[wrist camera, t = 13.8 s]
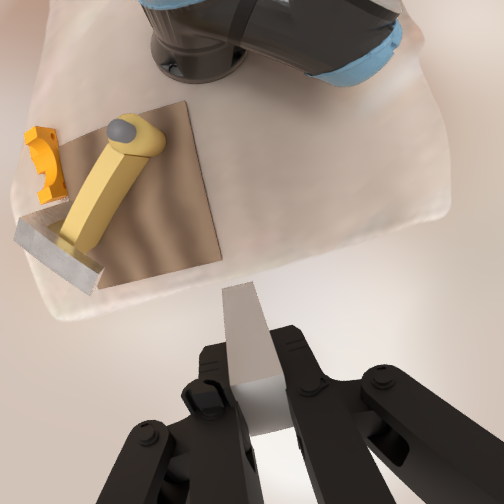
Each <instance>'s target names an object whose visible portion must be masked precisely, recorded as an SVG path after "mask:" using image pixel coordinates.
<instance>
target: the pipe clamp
mask: <svg viewBox="0 0 504 504" xmlns="http://www.w3.org/2000/svg"><path fill="white" fill-rule="evenodd" d="M24 137H25V143H26V145H29V149H30V154H31V159H32V160H33V162H34V164H35V166H36V169H37V173H38V174H46V180H45V185H44V188H43V189H42V190H41V191H40V192H38V193H37V194H38V197H39V200H40V204H41V205H42V204H45V203H49V202H52V201H56V200H59V199H62V198H64V197H65V196H67V195H68V192H67V188H66V184H65V179H64V175H63V170H62V165H61V159H60V154H59V148H58V147H59V146H58V141H57V137H56V132H55V129H51V128H45V127H39V126H35V127H33V128H32V129H30V130H29V131H27V132H26V133H25V134H24Z"/></svg>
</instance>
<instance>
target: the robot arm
mask: <svg viewBox="0 0 504 504" xmlns="http://www.w3.org/2000/svg"><path fill="white" fill-rule="evenodd" d="M138 1H139V2H140V4H141V6H142V8H143V10H144V12H145V14H146V16H147V18H148V20H149V22H150V24H151V26H152V28H153V30H154V31H153V35H152V38H151V52H152V56H153V58H154V60H155V62H156V64H157V66H158V67H159V68H160V70H161V71H162V72H163V73H164V74H166V75H167V76H169V77H170V78H172V79H174V80H177V81H180V82H184V83H191V84H200V83H208V82H212V81H216V80H218V79H221V78H223V77H225V76H227V75H228V74H230V73H231V72H233V71H234V70H235V69H236V68H237V67H238V66H239V65H240V64H241V63H242V61H243V60H244V58H245V56H246V54H247V51H248V50H249V51H252V52H255V53H258V54H261V55H263V56H266V57H269V58H271V59H274V60H276V61H279V62H281V63H284V64H286V65H289V66H291V67H293V68H296V69H298V70H300V71H302V72H304V74H305V75H307V76H309V77H313V78H318V79H320V80H322V81H325V82H327V83H329V84H331V85H334V86H337V87H351V86H355V85H358V84H360V83H362V82H364V81H366V80H367V79H369V78H370V77H372V76H373V75H374V74H376V73H377V72H378V71H379V70H380V69H381V68H382V67H383V66H384V65H385V64H386V63H387V62H388V61H389V60H390V59H391V57H392V56H393V54H394V52H393V50H394V49H395V48H397V47H398V46H399V44H400V42H401V39H402V27H401V25H400V23H399V22H398V20H397V19H396V18H397V17H398V16H399V14H400V13H401V12H402V6H401V2H400V0H138ZM222 296H223V310H224V323H225V335H226V342H223V343H219V344H214V345H209V346H205V347H204V349H203V350H202V352H201V353H200V355H199V376H198V377H199V378H198V379H195V380H194V381H192V382H191V383H189V384H188V385H187V386H186V387H185V388H184V389H183V391H182V394H181V398H182V399H183V401H184V403H185V405H186V406H187V408H188V410H189V412H190V413H191V415H189V416H188V417H187V418H185V419H183V420H181V421H179V422H176V423H174V424H171V425H168V426H166V425H164V424H163V423H162V422H159V421H156V420H147V421H144V422H141V423H139V424H138V425H136V426H135V427H134V428H133V429H132V431H131V432H130V434H129V435H128V437H127V439H126V441H125V444H124V446H123V448H122V450H121V452H120V454H119V456H118V458H117V460H116V462H115V464H114V466H113V468H112V470H111V472H110V474H109V476H108V479H107V481H106V483H105V485H104V487H103V489H102V491H101V493H100V496H99V498H98V500H97V502H96V504H264V500H263V495H262V490H261V485H260V480H259V475H258V469H257V464H256V459H255V453H254V449H253V447H252V445H251V442H250V436H251V437H252V436H256V435H261V434H266V433H270V432H274V431H278V430H282V429H286V428H290V427H294V428H295V431H296V436H297V441H298V446H299V449H300V450H301V453H302V456H303V459H304V462H305V465H306V468H307V472H308V475H309V478H310V481H311V484H312V487H313V490H314V493H315V496H316V499H317V502H318V504H396V502H395V500H394V498H393V496H392V494H391V492H390V490H389V488H388V486H387V484H386V482H385V480H384V479H383V476H382V475H381V473H380V471H379V469H378V467H377V465H376V463H375V461H374V459H373V457H372V455H371V453H370V451H369V449H368V448H370V450H371V451H372V452H373V453H374V454H375V455H376V456H377V457H378V458H379V459H380V460H381V461H382V462H383V463H384V464H385V465H386V466H387V467H388V468H389V469H390V470H391V471H392V472H393V473H394V474H395V475H396V476H397V477H399V479H400V480H402V481H403V482H404V483H405V484H406V485H407V486H408V487H409V488H410V489H411V490H412V491H413V492H414V493H415V494H416V495H417V496H418V497H419V498H421V499H422V500H423V501H424V502H425V503H426V504H504V442H503V441H501V440H500V439H499V438H497V437H496V436H494V435H493V434H491V433H490V432H488V431H487V430H485V429H484V428H483V427H481V426H480V425H478V424H477V423H476V422H474V421H473V420H471V419H470V418H468V417H467V416H466V415H464V414H463V413H461V412H460V411H458V410H457V409H455V408H454V407H453V406H451V405H450V404H449V403H447V402H446V401H444V400H443V399H441V398H440V397H439V396H437V395H435V394H434V393H433V392H432V391H430V390H429V389H427V388H426V387H424V386H423V385H421V384H420V383H419V382H417V381H416V380H415V379H413V378H412V377H410V376H409V375H408V374H406V373H405V372H403V371H402V370H400V369H399V368H397V367H395V366H393V365H385V364H384V365H377V366H374V367H372V368H370V369H368V370H367V371H366V372H365V373H364V374H363V376H362V379H359V380H350V381H338V380H334V379H331V378H330V377H328V376H327V375H325V374H324V373H323V372H322V370H321V368H320V366H319V364H318V362H317V360H316V359H315V356H314V355H313V353H312V351H311V349H310V347H309V345H308V343H307V341H306V340H305V337H304V335H303V333H302V331H301V330H300V329H298V328H296V327H295V326H293V325H289V326H286V327H282V328H278V329H274V330H270V331H269V330H268V326H267V324H266V320H265V317H264V314H263V312H262V308H261V305H260V303H259V299H258V296H257V293H256V290H255V287H254V284H253V282H249V283H245V284H240V285H236V286H232V287H227V288H224V289H222ZM249 434H250V436H249Z"/></svg>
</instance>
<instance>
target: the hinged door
mask: <svg viewBox="0 0 504 504" xmlns="http://www.w3.org/2000/svg"><path fill="white" fill-rule="evenodd" d="M106 132H107V136H108V140H109V143H108V144H107V145H106V147H105V149H104V150H103V152H102V153H101V155H100V157H99V158H98V160H97V161H96V163H95V165H94V167H93V168H92V170H91V172H90V173H89V175H88V177H87V179H86V180H85V182H84V184H83V186H82V188H81V190H80V192H79V193H78V195H77V197H76V199H75V201H74V203H73V205H72V207H71V209H70V211H69V213H68V215H67V218H66V220H65V222H64V224H63V226H62V228H61V231H60V233H59V235H58V236H59V237H60V238H62V239H63V240H65V241H66V242H67V243H69V244H70V245H72V246H73V247H75V248H76V249H78V250H79V251H80V252H82V253H83V254H86V253H87V252H88V251H90V250H91V249H92V248H94V247H95V246H96V245H97V244H98V242H99V241H100V239H101V237H102V235H103V233H104V231H105V230H106V228H107V226H108V224H109V222H110V221H111V219H112V217H113V215H114V214H115V212H116V210H117V209H118V207H119V205H120V204H121V202H122V200H123V199H124V197H125V196H126V194H127V192H128V191H129V189H130V188H131V186H132V184H133V183H134V181H135V180H136V178H137V177H138V175H139V174H140V172H141V171H142V169H143V168H144V166H145V165H146V163H147V162H148V161H149V159H150V158H149V157H155V156H157V155H159V154H160V153H161V152H162V151H163V150H164V148H165V146H166V137H165V135H164V133H163V132H162V131H161V130H159V129H158V128H156V127H155V126H153V125H152V124H150V123H149V122H147V121H146V120H144V119H143V118H141V117H140V116H138V115H136V114H131V113H129V114H124V115H121V116H119V117H118V118H117V119H115V120H113V121H111V122H110V123H109V125H108V127H107V131H106Z"/></svg>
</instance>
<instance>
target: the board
mask: <svg viewBox="0 0 504 504" xmlns="http://www.w3.org/2000/svg"><path fill="white" fill-rule="evenodd" d="M138 116H140V117H141V118H143V119H144V120H146V121H147V122H149V123H150V124H152V125H153V126H155V127H156V128H158V129H159V130H161V131H162V132H163V133H164V135H165V137H166V146H165V148H164V150H163V151H162V152H161V153H160V154H159V155H157V156H155V157H149V158H150V159H149V161H148V162H147V163H146V165H145V166H144V168H143V169H142V171H141V172H140V174H139V175H138V177H137V178H136V180H135V181H134V183H133V184H132V186H131V188H130V189H129V191H128V192H127V194H126V196H125V197H124V199H123V200H122V202H121V204H120V205H119V207H118V209H117V210H116V212H115V214H114V215H113V217H112V219H111V221H110V222H109V224H108V226H107V228H106V230H105V231H104V233H103V235H102V237H101V239H100V241H99V242H98V244H97V245H96V246H95V247H94V248H92V249H91V250H90V251H88V252H87V253H86V256H88V257H89V258H91V259H92V260H94V261H96V262H97V263H99V264H100V265H102V266H103V267H105V268H104V271H103V273H102V275H101V278H100V280H99V282H98V285H97V287H98V289H103V288H107V287H112V286H116V285H120V284H124V283H128V282H133V281H137V280H141V279H145V278H149V277H154V276H158V275H162V274H166V273H170V272H175V271H179V270H183V269H187V268H191V267H195V266H200V265H204V264H208V263H212V262H216V261H220V260H222V257H221V253H220V249H219V245H218V241H217V237H216V233H215V229H214V225H213V221H212V217H211V213H210V209H209V205H208V200H207V196H206V192H205V188H204V183H203V179H202V175H201V170H200V166H199V162H198V157H197V153H196V148H195V144H194V139H193V135H192V130H191V125H190V120H189V116H188V111H187V106H186V102H185V101H183V102H179V103H175V104H172V105H168V106H164V107H161V108H158V109H154V110H151V111H148V112H145V113H142V114H139V115H138ZM107 127H108V126H105V127H103V128H100V129H98V130H95V131H93V132H91V133H88V134H86V135H84V136H81V137H79V138H77V139H75V140H73V141H70V142H68V143H66V144H64V145H62V146H60V147H58V148H59V154H60V159H61V165H62V170H63V175H64V179H65V184H66V188H67V192H68V197H69V201H72V200H75V199H76V197H77V195H78V193H79V192H80V190H81V188H82V186H83V184H84V182H85V180H86V179H87V177H88V175H89V173H90V172H91V170H92V168H93V167H94V165H95V163H96V161H97V160H98V158H99V157H100V155H101V153H102V152H103V150H104V149H105V147H106V145H107V144H108V143H109V140H108V136H107V132H106V131H107Z"/></svg>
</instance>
